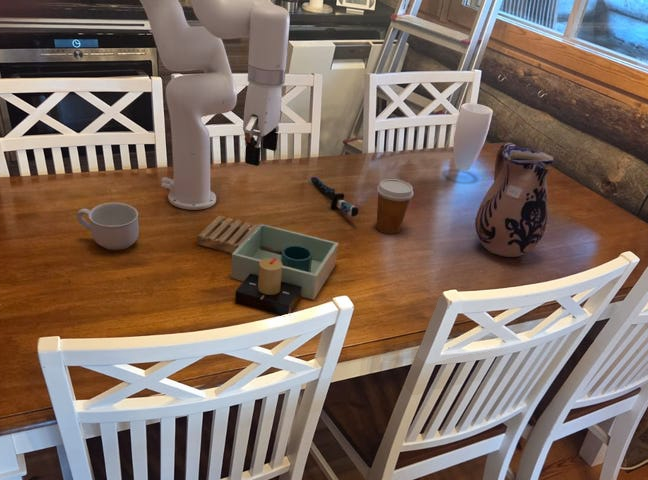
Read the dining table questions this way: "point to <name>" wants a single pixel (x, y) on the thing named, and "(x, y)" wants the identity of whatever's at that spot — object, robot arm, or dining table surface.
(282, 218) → the dining table surface
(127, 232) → the teacup
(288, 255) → the pan
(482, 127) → the white vase
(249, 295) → the black dial base
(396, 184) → the disposable coffee cup
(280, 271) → the tap knob
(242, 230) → the rack
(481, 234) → the ceramic pitcher
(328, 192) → the knife
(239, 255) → the pale green open box
